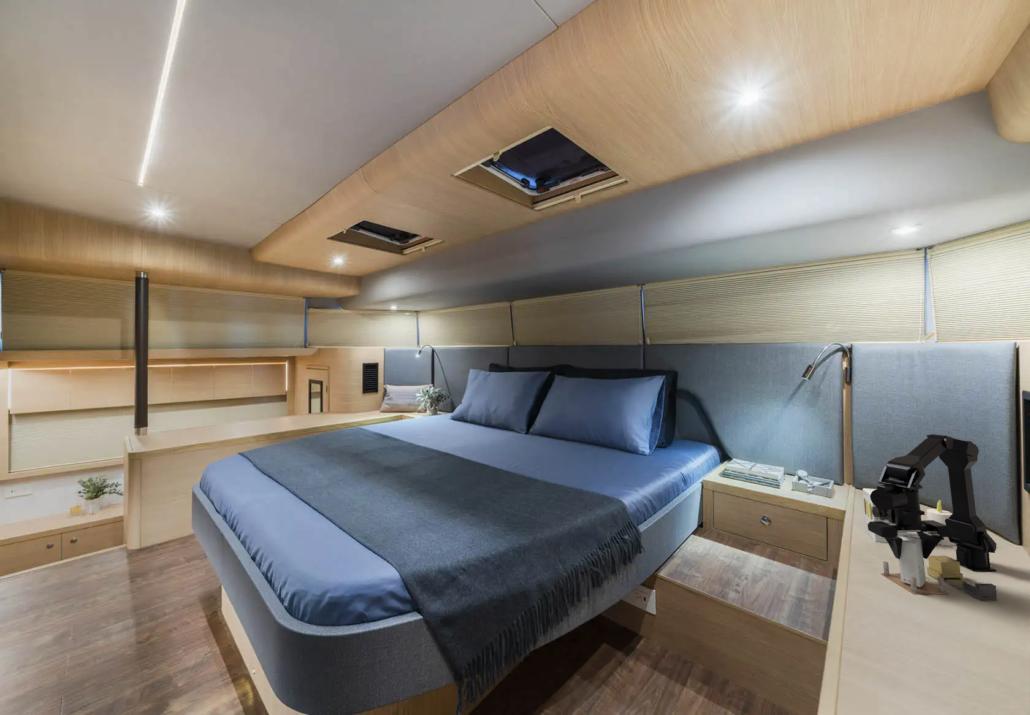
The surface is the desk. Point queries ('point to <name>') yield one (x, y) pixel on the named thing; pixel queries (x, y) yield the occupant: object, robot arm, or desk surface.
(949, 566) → the collar
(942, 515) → the candle
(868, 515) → the supplement box
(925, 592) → the peg cradle
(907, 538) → the skincare box
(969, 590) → the rail
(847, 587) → the desk surface
